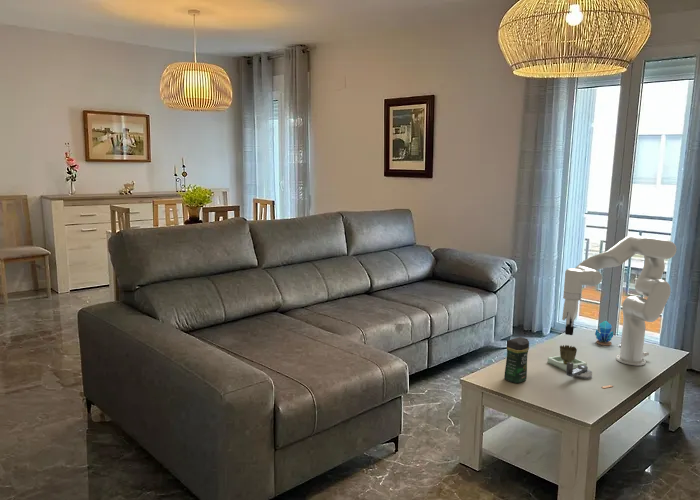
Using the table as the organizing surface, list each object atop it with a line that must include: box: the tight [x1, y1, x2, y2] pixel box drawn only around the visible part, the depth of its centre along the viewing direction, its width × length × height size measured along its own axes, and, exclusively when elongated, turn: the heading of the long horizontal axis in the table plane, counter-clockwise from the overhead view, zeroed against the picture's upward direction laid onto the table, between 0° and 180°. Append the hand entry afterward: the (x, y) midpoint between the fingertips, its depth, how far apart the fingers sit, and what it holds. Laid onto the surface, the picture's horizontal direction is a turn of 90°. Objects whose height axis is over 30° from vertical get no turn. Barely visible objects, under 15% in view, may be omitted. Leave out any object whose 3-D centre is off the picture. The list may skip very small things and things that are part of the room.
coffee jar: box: [503, 336, 530, 384], centre depth 233 cm, size 10×8×19 cm
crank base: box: [573, 368, 593, 380], centre depth 240 cm, size 8×8×2 cm
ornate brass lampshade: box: [559, 344, 578, 365], centre depth 252 cm, size 8×7×8 cm
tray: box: [547, 355, 588, 372], centre depth 252 cm, size 12×12×2 cm
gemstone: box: [594, 320, 614, 347], centre depth 283 cm, size 7×9×12 cm
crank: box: [565, 362, 589, 378], centre depth 236 cm, size 14×4×6 cm, turn 128°
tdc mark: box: [601, 384, 613, 389], centre depth 228 cm, size 5×1×1 cm, turn 113°
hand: (569, 334), depth 249 cm, fingers closed
